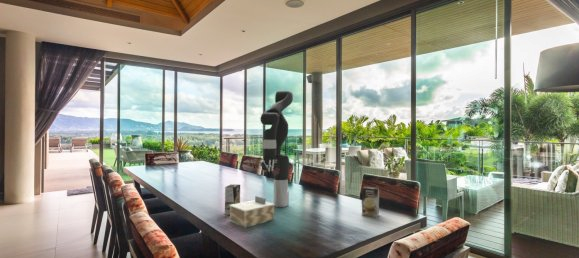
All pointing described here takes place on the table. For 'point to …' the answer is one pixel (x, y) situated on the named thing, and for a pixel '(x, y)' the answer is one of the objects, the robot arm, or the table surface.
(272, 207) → the wooden box
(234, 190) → the coffee box
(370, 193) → the coffee box
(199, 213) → the table surface
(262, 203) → the lid
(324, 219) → the table surface
